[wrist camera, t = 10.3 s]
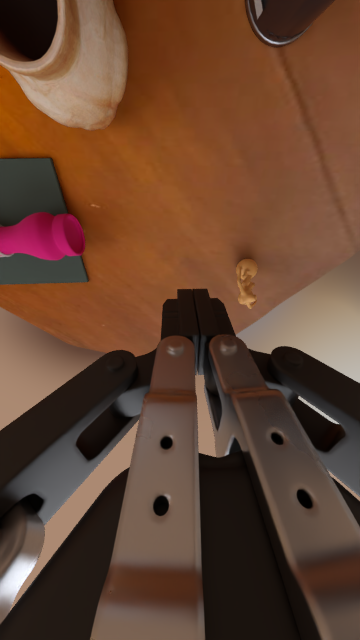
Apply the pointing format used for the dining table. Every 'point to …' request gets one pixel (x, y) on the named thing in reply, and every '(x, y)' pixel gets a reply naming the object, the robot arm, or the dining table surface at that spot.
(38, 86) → the ceramic vessel
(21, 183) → the mat
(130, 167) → the dining table surface
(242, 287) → the figurine
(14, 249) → the pepper mill
